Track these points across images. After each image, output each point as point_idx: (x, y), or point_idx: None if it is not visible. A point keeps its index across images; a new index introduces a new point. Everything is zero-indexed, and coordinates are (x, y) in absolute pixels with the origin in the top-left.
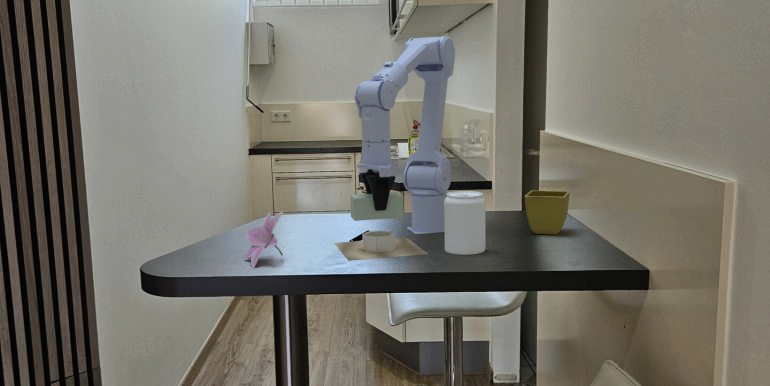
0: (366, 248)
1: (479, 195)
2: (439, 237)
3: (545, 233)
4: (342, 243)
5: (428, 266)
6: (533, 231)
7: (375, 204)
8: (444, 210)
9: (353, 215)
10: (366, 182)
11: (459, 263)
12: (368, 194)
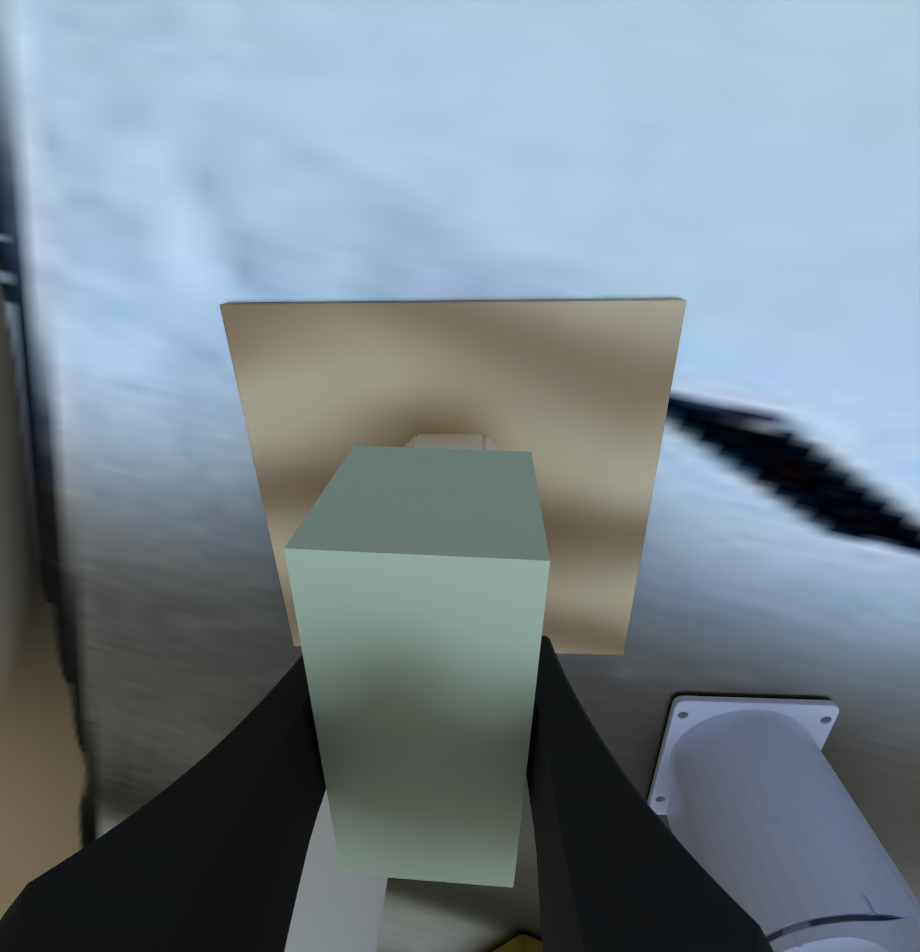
0: (409, 443)
1: None
2: (609, 748)
3: (500, 947)
4: (646, 349)
5: (156, 599)
6: (523, 939)
7: (296, 665)
8: None
9: (395, 461)
10: (558, 846)
11: (193, 689)
12: (503, 713)
